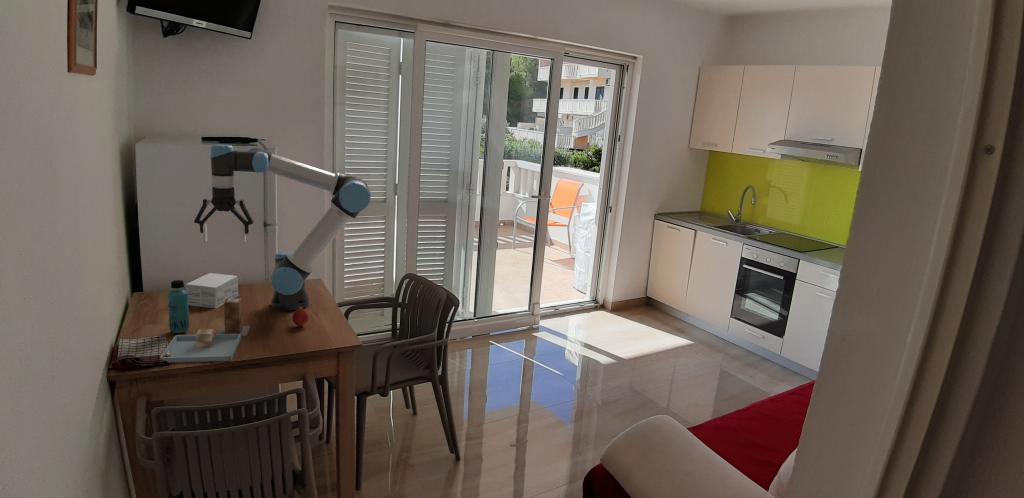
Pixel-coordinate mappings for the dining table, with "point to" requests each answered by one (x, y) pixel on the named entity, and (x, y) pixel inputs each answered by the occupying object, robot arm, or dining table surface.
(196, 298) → the supplement box
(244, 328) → the slate coaster
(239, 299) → the walnut box
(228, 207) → the robot arm
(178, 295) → the beverage bottle
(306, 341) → the dining table surface
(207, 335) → the birch block
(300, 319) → the onion
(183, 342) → the bin
